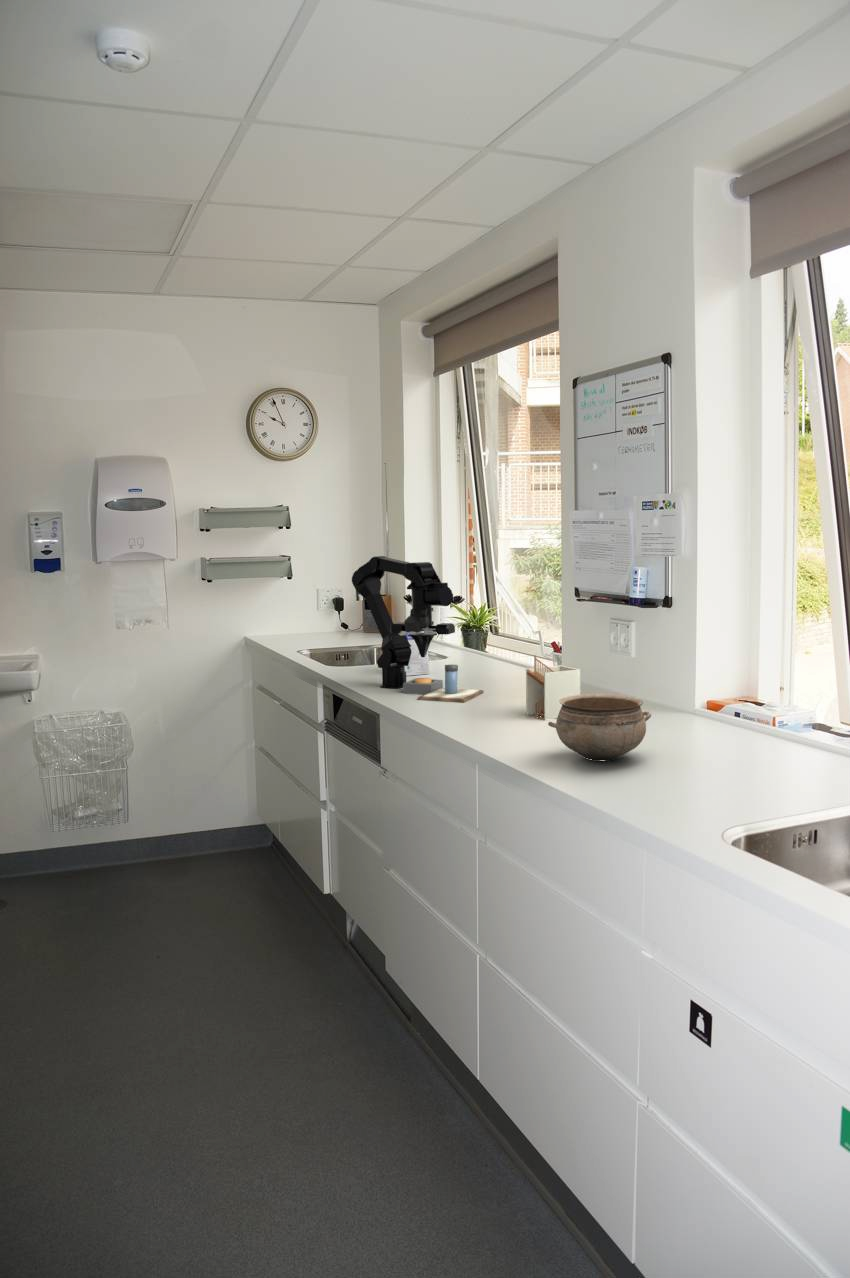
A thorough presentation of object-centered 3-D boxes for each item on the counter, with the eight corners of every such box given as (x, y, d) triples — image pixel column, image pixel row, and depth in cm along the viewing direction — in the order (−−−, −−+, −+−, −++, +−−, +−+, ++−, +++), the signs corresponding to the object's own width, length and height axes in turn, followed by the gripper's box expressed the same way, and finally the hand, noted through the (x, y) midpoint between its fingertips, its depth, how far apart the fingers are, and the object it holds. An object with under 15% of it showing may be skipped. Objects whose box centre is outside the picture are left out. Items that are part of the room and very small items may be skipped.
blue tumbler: (443, 693, 284) (443, 665, 283) (446, 691, 288) (446, 664, 287) (455, 693, 283) (456, 666, 282) (459, 692, 286) (459, 664, 286)
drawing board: (418, 699, 281) (418, 696, 281) (439, 690, 295) (439, 687, 295) (464, 702, 275) (464, 699, 275) (483, 692, 290) (483, 689, 290)
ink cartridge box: (423, 672, 332) (422, 629, 330) (430, 674, 327) (429, 631, 325) (396, 674, 327) (395, 631, 326) (402, 676, 322) (402, 632, 321)
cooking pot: (573, 774, 197) (573, 714, 195) (527, 754, 214) (527, 699, 213) (676, 761, 206) (677, 703, 205) (624, 742, 224) (625, 689, 222)
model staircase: (525, 716, 257) (525, 653, 255) (560, 712, 262) (560, 650, 260) (544, 722, 250) (544, 657, 248) (580, 717, 255) (580, 654, 253)
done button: (412, 686, 293) (411, 680, 292) (418, 683, 297) (418, 677, 297) (427, 687, 291) (427, 680, 291) (434, 684, 295) (433, 678, 295)
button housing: (403, 693, 292) (403, 683, 292) (415, 688, 300) (415, 678, 300) (431, 694, 288) (431, 684, 288) (442, 689, 297) (442, 679, 296)
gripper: (381, 606, 287) (383, 659, 289) (440, 607, 280) (442, 661, 282) (397, 603, 297) (398, 654, 299) (455, 604, 290) (456, 656, 292)
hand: (423, 657), depth 293 cm, fingers closed
